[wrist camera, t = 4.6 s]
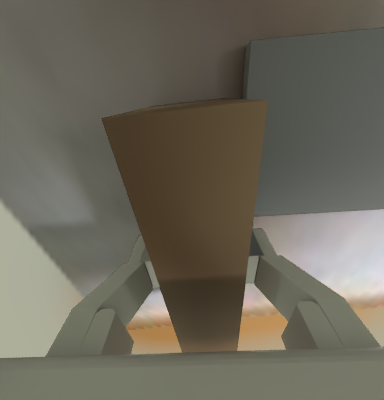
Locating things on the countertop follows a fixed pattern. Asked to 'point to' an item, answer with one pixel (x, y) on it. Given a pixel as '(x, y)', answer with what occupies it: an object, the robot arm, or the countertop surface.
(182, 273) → the brown long block
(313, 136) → the pad
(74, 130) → the countertop surface
